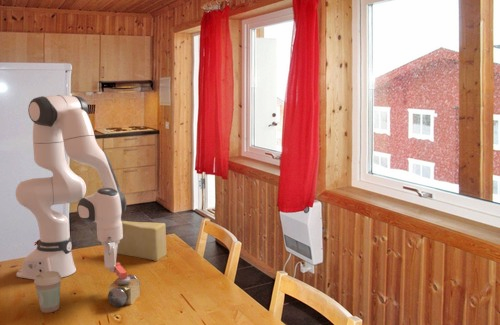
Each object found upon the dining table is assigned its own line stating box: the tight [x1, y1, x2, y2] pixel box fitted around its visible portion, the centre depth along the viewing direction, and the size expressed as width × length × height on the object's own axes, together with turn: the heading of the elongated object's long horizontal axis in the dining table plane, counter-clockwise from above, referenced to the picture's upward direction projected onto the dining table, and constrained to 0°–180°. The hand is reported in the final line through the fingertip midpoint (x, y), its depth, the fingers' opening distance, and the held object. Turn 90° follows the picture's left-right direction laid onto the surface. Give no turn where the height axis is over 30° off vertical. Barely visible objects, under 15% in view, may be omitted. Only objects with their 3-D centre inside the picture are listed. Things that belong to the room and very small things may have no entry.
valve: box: [107, 274, 141, 308], centre depth 175 cm, size 8×13×6 cm, turn 171°
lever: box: [113, 261, 130, 285], centre depth 178 cm, size 13×4×4 cm, turn 30°
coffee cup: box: [33, 271, 63, 314], centre depth 168 cm, size 8×9×12 cm
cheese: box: [117, 220, 167, 262], centre depth 219 cm, size 22×10×15 cm, turn 72°
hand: (112, 270), depth 180 cm, fingers closed
